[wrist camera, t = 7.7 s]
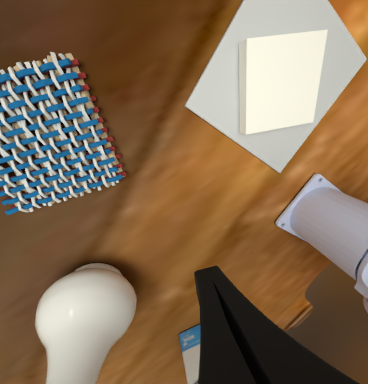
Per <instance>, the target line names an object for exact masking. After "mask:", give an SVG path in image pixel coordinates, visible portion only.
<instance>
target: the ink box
mask: <svg viewBox="0 0 368 384" xmlns="http://www.w3.org/2000/svg"><path fill="white" fill-rule="evenodd" d="M179 338H180V343H181V349H182V355H183V360H184V366H185V371H186V377H187V382H188V384H198V376H199V360H200V324H199V325H197V326H195V327H193V328H191V329H189V330H186V331H184V332H182V333H180V334H179Z"/></svg>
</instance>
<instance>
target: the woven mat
mask: <svg viewBox="0 0 368 384" xmlns="http://www.w3.org/2000/svg"><path fill="white" fill-rule="evenodd" d="M50 53H51V56H47V59H48V61H47V59H44V60H43V61H44V62H45V64H41V62H40V61H33V62H32V64H33V67H34V68H31V65H30V63H29V62H24V63H25V65H26V67H27V68H28V69H26V68H24V67H23V65H22V64H21V62H17V63H16V64H17V65H16V66H15V67H13V68H14V69H15V71H16V72H15V73H14V70H13V68H11V67H8V71H9V73H5V72H4V70H0V73H1V75H0V86H2V88H1V87H0V102H1V104H2V106H0V153H1V155H2V156H3V157H1V158H0V163H4V162H7V163H8V165H9V167H6V168H3V167H2V166H1V165H0V187H1V186H4V189H2V190H0V197H1V196H4V195H7V194H8V195H9V196H11V197H9V198H6V199H4V200H3V201H2V204H3V205H6V204H13V203H14V204H15V205H13V206H11V207H12V209H10V210H7V211H5V213H6V214H7V215H10V214H13V213H15V212H17V211H23V212H29V211H30V212H33V207H34V206H35V207H37V208H41V207H40V206H39V205H38V204H43V205H44V206H46V204H45V203H48V206H52V204H53V203H55V201H56V202H57V203H59V202H61V201H60V200H59V199H57V198H63V199H64V201H67V200H68V199H67V196H69V198H71V197H73V196H74V197H78V195H77V194H80V195H81V196H84V193H83V191H85V192H88V193H91V190H92V189H91V188H93V189H95V188H96V187H98V191H99V190H101V187H100V186H101V185H103V184H104V185H105V186H106V187H109V186H110V185H112V186H114V185H116V184H115V181H116V183H119V181H118V180H119V179H121V178H123V177H124V176H126V172H125V171H123V170H122V167H123V165H122V163H119V161H118V160H117V158H121V157H122V156H121V154H115V152H114V151H115V150H116V148H115V146H112V145H111V143H110V141H113V138H112V136H110V137H108V136H107V134H106V132H108V129H107V127H105V128H104V127H103V124H102V122H104V120H103V118H102V117H101V118H100V117H99V115H98V113H97V112H100V111H99V108H98V107H95V105H94V104H93V102H94V101H96V100H97V99H96V97H95V96H92V97H90V94H89V91H88V90H89V89H90V87H89V85H88V84H86V85H85V83H84V80H83V78H86V75H85V73H80V71H79V68H78V66H79V65H80V64H79V61H78V59H74V58H73V56H72V55H71V54H65V57H66V58H65V57H64V56H63V54H62V53H61V54H59V56H60V57H61V58H62V60H60V61H57V58H56V55H55V53H53V52H50ZM64 70H66V73H65V74H64V73H63V71H64ZM71 72H72V73H71ZM47 74H50V75H51V78H50V79H49V77H48V75H47ZM37 76H39V78H40V80H38V78H37ZM33 79H34V80H35V82H34V80H33ZM21 80H23V81H24V83H25V84H26V85H23V84H22V83H21V82H20V81H21ZM74 81H75V82H76V84H77V85H75V82H74ZM68 82H71V84H72V87H70V85H69V83H68ZM54 86H57V88H58V89H59V90H57V91H55V88H54ZM39 90H40V91H39ZM28 93H31V95H32V98H30V99H29V97H28ZM79 93H80V94H79ZM74 94H76V96H77V99H76V97H75V96H74ZM23 95H24V96H23ZM60 98H62V99H63V102H64V103H62V102H61V101H60V100H59V99H60ZM14 100H15V101H14ZM67 101H68V102H67ZM50 103H51V104H52V105H51V104H50ZM35 104H37V106H38V108H39V110H37V109H36V108H35V106H34V105H35ZM84 106H85V107H86V109H87V110H85V108H84ZM20 108H21V109H22V112H23V114H22V112H21V111H20ZM65 109H67V110H68V111H69V112H70V114H67V112H66V110H65ZM56 111H57V113H58V114H59V116H60V117H58V116H57V115H56V113H55V112H56ZM5 112H7V113H8V114H9V116H10V118H7V119H5V116H4V113H5ZM89 114H90V116H91V119H92V120H90V118H89V117H88V115H89ZM41 115H43V116H44V118H45V120H46V121H43V122H42V119H41ZM53 117H54V118H53ZM72 119H73V122H74V125H73V124H72V122H71V120H72ZM25 120H28V121H29V122H30V123H31V124H32V125H29V126H27V125H26V121H25ZM77 121H78V122H77ZM61 122H63V124H64V126H65V128H61ZM78 123H79V124H78ZM10 124H12V126H11V125H10ZM93 125H95V127H93ZM47 126H48V129H47V128H46V127H47ZM90 129H91V132H90ZM33 130H35V133H36V136H34V135H33V134H32V133H31V132H30V131H33ZM76 130H78V132H79V133H80V135H78V134H77V132H76ZM64 133H68V134H69V135H70V138H67V136H66V135H65V134H64ZM93 136H94V137H95V139H94V138H93ZM19 137H20V138H21V139H22V140H19ZM53 138H54V139H55V140H56V142H54V140H53ZM99 138H101V139H100V140H99ZM1 139H2V140H4V141H5V142H6V143H7V144H5V145H4V144H3V143H2V141H1ZM81 140H83V141H84V145H83V144H82V142H81ZM38 141H40V142H41V143H42V144H43V146H39V144H38ZM72 142H73V143H74V145H75V147H74V148H72V146H71V143H72ZM25 144H28V146H29V147H30V149H29V150H28V149H27V148H25V147H24V146H23V145H25ZM102 145H104V147H105V149H103V147H102ZM59 146H60V147H61V148H62V151H60V150H59V149H58V148H57V147H59ZM90 148H91V149H90ZM8 149H12V154H10V153H9V151H8ZM86 149H87V151H88V152H89V153H86ZM43 151H46V155H45V154H44V152H43ZM75 153H77V154H78V156H77V155H76V154H75ZM32 154H34V155H35V157H36V159H33V160H32V157H31V155H32ZM106 154H107V155H106ZM64 156H66V157H67V159H68V160H65V159H64ZM107 156H108V157H107ZM14 159H15V160H17V161H18V162H19V164H17V163H16V161H15V160H14ZM90 159H93V162H91V160H90ZM49 160H50V161H51V162H52V163H53V164H50V161H49ZM96 160H97V161H96ZM81 162H82V163H83V164H84V165H81ZM39 163H40V165H41V166H42V168H39V167H37V166H36V165H35V164H39ZM107 164H108V166H109V167H107ZM68 165H71V166H72V168H71V169H70V168H69V167H68ZM95 167H96V169H97V171H95V169H94V168H95ZM24 168H25V171H26V172H25V173H23V171H22V170H21V169H24ZM56 169H58V170H59V172H58V173H57V172H56V171H55V170H56ZM86 170H88V171H89V173H86V172H85V171H86ZM13 171H14V173H15V174H16V175H15V176H12V177H9V174H8V173H10V172H13ZM115 171H116V173H117V174H115ZM110 172H112V174H113V175H111V173H110ZM43 173H46V174H47V176H45V177H44V176H43ZM74 174H76V175H77V177H74ZM99 176H101V179H99ZM28 178H29V179H30V180H29V181H28ZM91 178H92V179H93V181H92V180H91ZM62 179H63V180H62ZM58 180H59V181H58ZM87 180H88V181H87ZM15 181H16V182H17V185H16V184H14V183H13V182H15ZM47 182H49V184H48V183H47ZM77 182H78V183H79V184H78V183H77ZM35 186H37V189H35V188H34V187H35ZM67 187H69V188H67ZM21 190H22V191H24V192H25V193H21ZM54 191H56V192H57V193H55V192H54ZM39 194H40V195H41V196H43V197H41V196H40V195H39ZM72 195H73V196H72ZM27 198H31V200H25V199H27Z"/></svg>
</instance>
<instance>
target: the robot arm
mask: <svg viewBox="0 0 368 384" xmlns="http://www.w3.org/2000/svg"><path fill="white" fill-rule="evenodd" d="M275 224H276V225H277V226H278V227H280V228H282V229H284V230H285V231H287V232H289V233H291V234H293V235H295V236H297V237H299V238H301V239H302V240H304V241H306V242H308V243H309V244H310V245H312V246H313V247H314V248H316V249H317V250H318V251H319V252H321V253H322V254H323V255H324V256H326V257H327V258H328V259H329V260H331V261H332V262H333V263H334V264H336V265H337V266H338V267H339V268H341V269H342V270H343V271H345V272H346V273H347V274H348V275H349V276H351V277H352V278H353V279H354V280H356V281H357V283H356V285H355V287H354V288H355V289H356V290H357V291H358V292H359V293H360V294H362V295H363V296H364V299H363V304H364V307H365V309H366V311H367V313H368V203H366V202H363V201H361V200H359V199H356V198H354V197H351V196H349V195H347V194H344V193H343V192H341V191H340V190H339V189H338V188H337V187H335V186H334V185H333V184H332V183H330V182H329V181H328V180H327V179H325V178H324V177H323V176H322V175H320V174H318V173H316V174H314V175H313V176H312V178H311V179H310V180H309V181H308V182H307V184H306V185H305V186H304V187H303V189H302V190H301V191H300V192H299V193H298V195H297V196H296V197H295V198H294V200H293V201H292V202H291V203H290V204H289V206H288V207H287V208H286V209H285V211H284V212H283V213H282V214H281V215H280V217H279V218H278V219H277V220H276V222H275ZM194 275H195V283H196V290H197V296H198V300H199V304H200V360H199V376H198V384H359V383H358V382H356V381H354V380H353V379H351V378H350V377H348V376H346V375H345V374H343V373H342V372H340V371H339V370H337V369H336V368H334V367H332V366H331V365H330V364H328V363H326V362H325V361H324V360H322V359H321V358H319V357H318V356H316V355H315V354H314V353H312V352H311V351H309V350H308V349H307V348H305V347H304V346H302V345H301V344H300V343H298V342H297V341H296V340H294V339H293V338H292V337H290V336H289V335H288V334H287V333H285V332H284V331H283V330H282V329H280V328H279V327H278V326H277V325H275V324H274V323H273V322H272V321H271V320H270V319H268V318H267V317H266V316H265V315H264V314H263V313H262V312H260V311H259V310H258V309H257V308H256V307H255V306H254V305H253V304H252V303H251V302H250V301H249V300H248V299H247V298H246V297H245V296H244V295H243V294H242V293H241V292H240V291H239V290H238V289H237V288H236V287H235V286H234V285H233V284H232V283H231V281H230V280H229V279H228V278H227V277H226V276H225V275H224V273H223V272H222V271H221V270H220V268H219V267H218V266H213V267H209V268H205V269H202V270H198V271H196V272H195V273H194Z"/></svg>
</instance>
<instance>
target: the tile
mask: <svg viewBox="0 0 368 384" xmlns="http://www.w3.org/2000/svg"><path fill="white" fill-rule="evenodd" d="M327 32H328V30H319V31H310V32H301V33H292V34H283V35H274V36H265V37H256V38H247V39H245V40H244V41H242V42H241V43H239V111H240V133H241V134H245V135H247V134H253V133H258V132H263V131H269V130H274V129H279V128H285V127H290V126H296V125H301V124H306V123H312V122H313V121H314V115H315V108H316V102H317V95H318V89H319V83H320V76H321V70H322V64H323V57H324V51H325V45H326V38H327Z"/></svg>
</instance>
